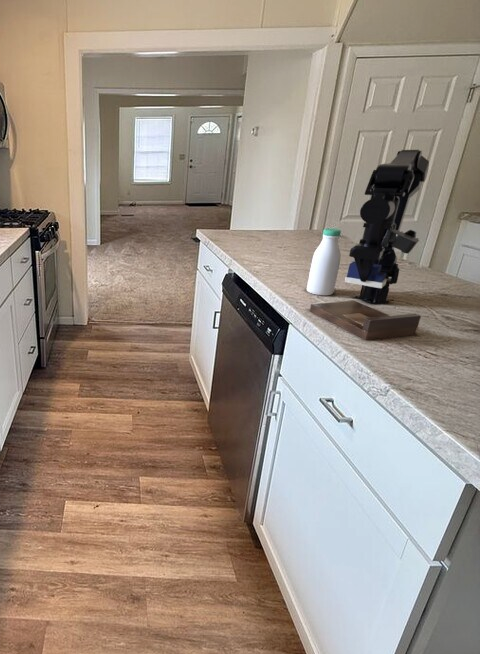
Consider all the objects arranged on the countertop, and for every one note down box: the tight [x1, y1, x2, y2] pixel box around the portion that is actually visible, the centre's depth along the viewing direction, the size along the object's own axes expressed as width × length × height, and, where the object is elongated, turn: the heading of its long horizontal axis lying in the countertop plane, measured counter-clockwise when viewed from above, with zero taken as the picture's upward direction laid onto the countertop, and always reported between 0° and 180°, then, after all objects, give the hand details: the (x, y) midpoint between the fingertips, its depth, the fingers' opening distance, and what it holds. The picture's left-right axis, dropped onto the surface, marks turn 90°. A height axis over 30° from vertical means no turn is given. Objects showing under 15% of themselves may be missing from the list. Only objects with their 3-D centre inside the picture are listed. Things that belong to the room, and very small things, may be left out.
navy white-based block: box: [344, 260, 387, 288], centre depth 104 cm, size 8×4×5 cm, turn 45°
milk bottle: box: [306, 228, 342, 296], centre depth 125 cm, size 8×8×20 cm
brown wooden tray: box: [309, 300, 422, 341], centre depth 105 cm, size 20×14×5 cm
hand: (365, 279), depth 105 cm, fingers closed on navy white-based block, 4 cm apart
